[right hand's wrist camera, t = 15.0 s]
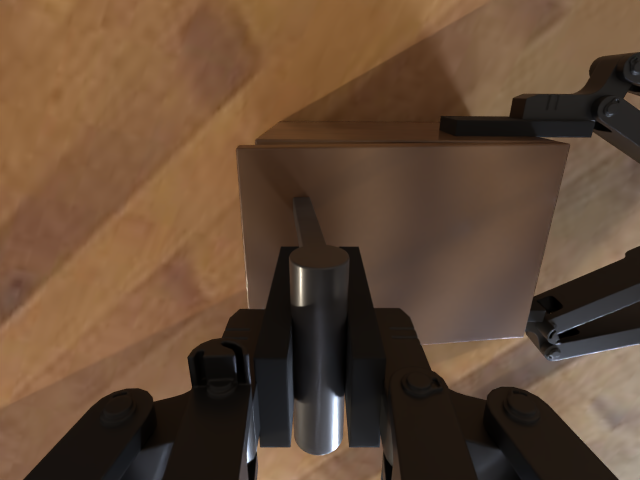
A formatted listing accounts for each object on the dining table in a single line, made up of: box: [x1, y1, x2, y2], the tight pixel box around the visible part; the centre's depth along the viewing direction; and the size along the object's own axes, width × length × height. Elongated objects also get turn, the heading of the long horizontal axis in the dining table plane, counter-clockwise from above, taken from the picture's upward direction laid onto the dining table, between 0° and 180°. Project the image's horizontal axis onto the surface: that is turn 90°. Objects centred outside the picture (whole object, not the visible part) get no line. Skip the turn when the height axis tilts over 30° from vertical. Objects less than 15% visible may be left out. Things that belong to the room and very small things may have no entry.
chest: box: [255, 121, 553, 145], centre depth 23 cm, size 13×10×10 cm
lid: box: [236, 141, 570, 455], centre depth 14 cm, size 14×10×8 cm
